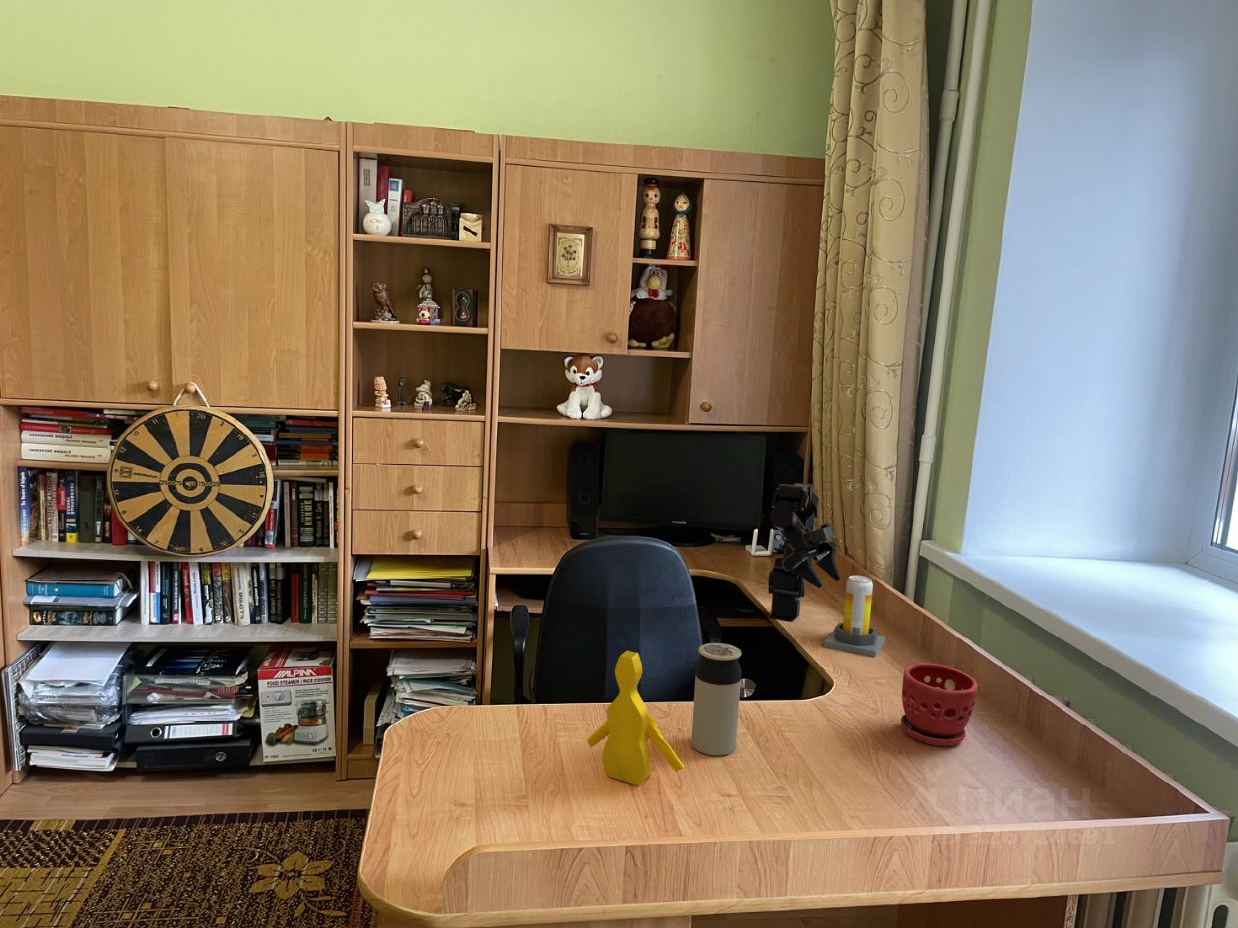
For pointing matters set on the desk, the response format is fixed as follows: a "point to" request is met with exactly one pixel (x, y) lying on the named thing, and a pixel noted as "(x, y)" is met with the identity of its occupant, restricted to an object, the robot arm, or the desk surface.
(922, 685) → the plant pot
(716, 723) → the travel mug
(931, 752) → the desk surface
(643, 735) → the figure statuette
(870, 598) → the beer can
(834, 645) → the collar dock
